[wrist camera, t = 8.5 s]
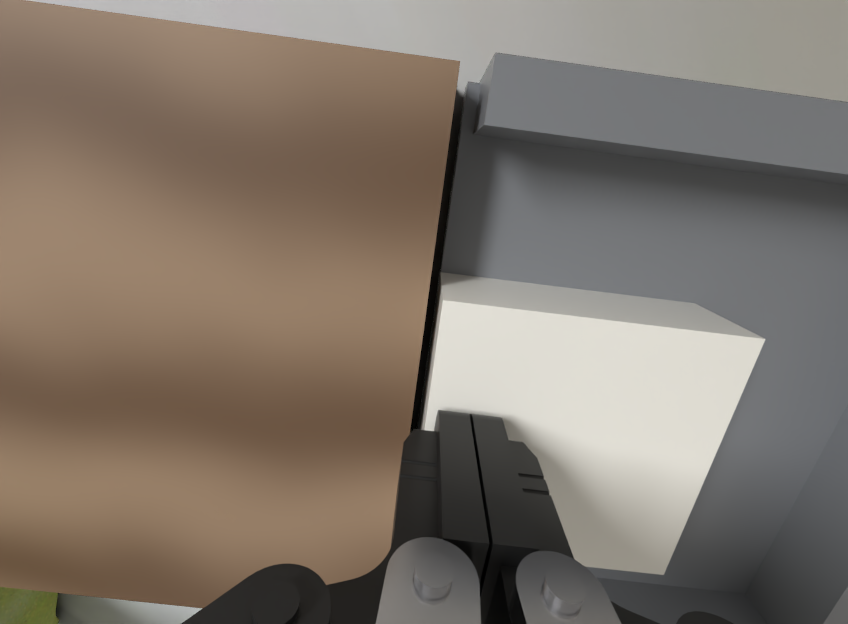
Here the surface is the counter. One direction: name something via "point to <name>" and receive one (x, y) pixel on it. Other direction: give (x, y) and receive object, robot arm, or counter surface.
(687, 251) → the tray
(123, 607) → the counter surface
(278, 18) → the counter surface
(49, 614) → the plant pot
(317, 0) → the counter surface
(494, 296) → the tile
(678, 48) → the counter surface
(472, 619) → the robot arm
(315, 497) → the brown square board
